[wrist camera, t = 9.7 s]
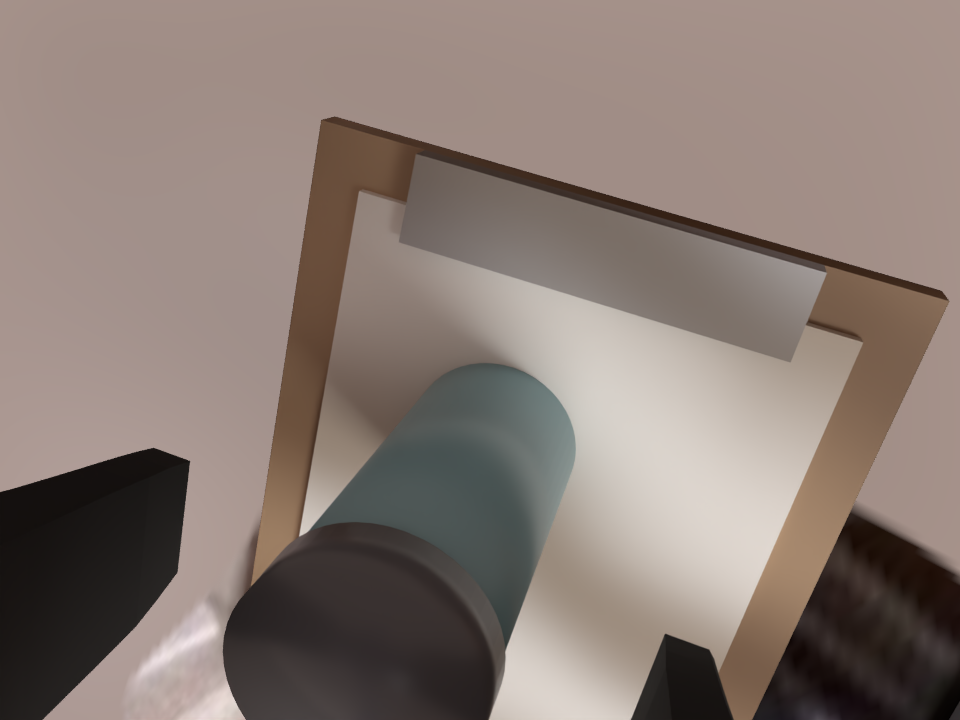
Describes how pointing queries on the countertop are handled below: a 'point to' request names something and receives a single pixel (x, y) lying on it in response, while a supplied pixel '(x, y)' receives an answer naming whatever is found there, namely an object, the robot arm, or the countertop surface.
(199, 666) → the countertop surface
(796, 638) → the countertop surface
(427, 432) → the tumbler
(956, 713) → the plate
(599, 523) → the clipboard
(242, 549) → the countertop surface
